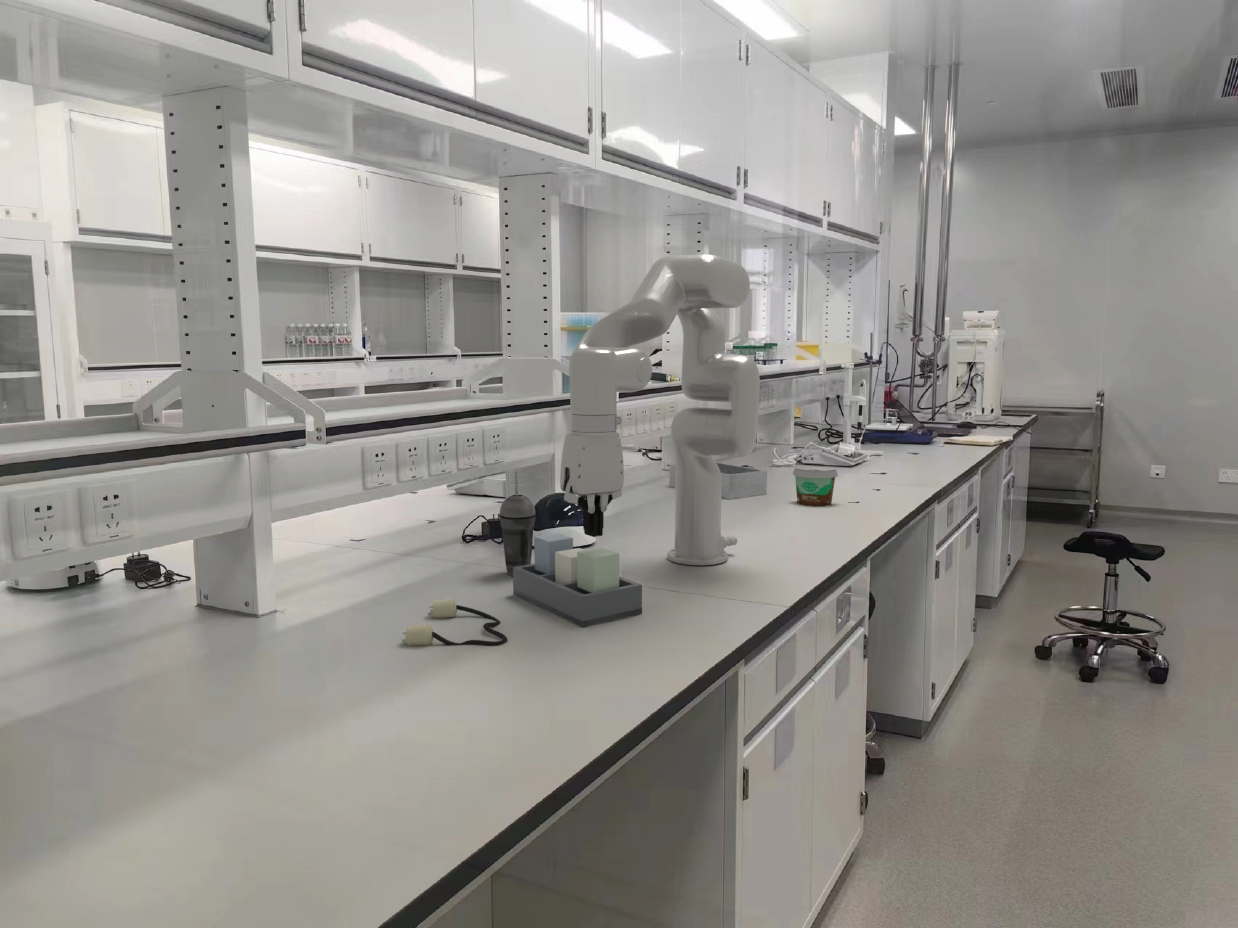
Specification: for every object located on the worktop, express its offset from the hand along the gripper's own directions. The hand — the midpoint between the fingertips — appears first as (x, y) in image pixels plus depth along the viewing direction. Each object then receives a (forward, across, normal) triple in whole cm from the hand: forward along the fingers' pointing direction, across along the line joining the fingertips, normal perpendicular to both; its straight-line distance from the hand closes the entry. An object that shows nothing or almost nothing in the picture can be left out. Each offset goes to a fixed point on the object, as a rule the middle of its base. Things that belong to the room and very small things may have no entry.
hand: (593, 534), depth 146 cm
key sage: (+9, 0, +1) cm, 9 cm away
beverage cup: (+13, -2, -29) cm, 32 cm away
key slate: (+9, 0, -13) cm, 16 cm away
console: (+13, 0, -6) cm, 15 cm away
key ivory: (+10, 0, -6) cm, 12 cm away
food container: (+13, -103, -46) cm, 114 cm away
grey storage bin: (+13, -97, -79) cm, 126 cm away
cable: (+14, +22, -5) cm, 26 cm away
